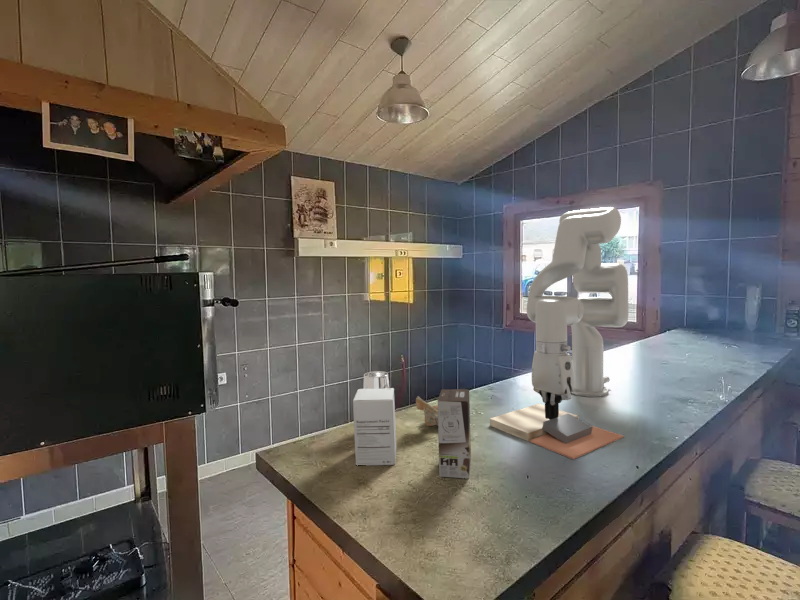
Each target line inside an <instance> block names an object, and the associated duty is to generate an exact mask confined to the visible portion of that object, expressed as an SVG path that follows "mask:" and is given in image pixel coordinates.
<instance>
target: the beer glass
mask: <svg viewBox="0 0 800 600" xmlns="http://www.w3.org/2000/svg"><path fill="white" fill-rule="evenodd" d="M383 388H390V380H389V373H388V372H386V371H383V370H381V371H380V370H373V371H368V372H366V373H364V374H363V389H383Z"/></svg>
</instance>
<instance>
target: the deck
mask: <svg viewBox="0 0 800 600" xmlns="http://www.w3.org/2000/svg"><path fill="white" fill-rule="evenodd" d="M568 413H569V414H571V415H572V416H574V417H576V418H578V419H579V415H578V414H574V413H571V412H568V411H565V410H561V409H559V415H558V417H559V416H562V415H565V414H568ZM548 420H550V419H547V418H545V404H541V403H536V404H533V405H530V406H526V407H524V408H523V407H522V408H519V409H516V410H513V411H509V412H506V413H503V414H500V415H497V416H494V417H490V418H489V426H490V427H493V428H495V429H497V430H500V431H502V432H504V433H507V434H509V435H512V436H514V437H517V438H519V439H522V440H524V441H526V442H530V440H531V439H534V438H537V437H540V436H542V435H545V434H548V432H546V431H544V430H543V429H542V427H543V422H545V421H548Z"/></svg>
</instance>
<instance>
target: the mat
mask: <svg viewBox="0 0 800 600" xmlns="http://www.w3.org/2000/svg"><path fill="white" fill-rule="evenodd" d="M592 426H593V428H592V432H591V434H589V435H587V436H584V437H582V438H579V439H577V440H574V441H572V442H569V443H567V444H566V443H564V442H562V441H561V440H559V439H557V438H556V437H554V436H553V435H551V434H549V433H548V434H545V435H542V436H540V437H537V438H534V439H531V440H530V441H529V443H531V444H534V445H536V446H539V447H541V448H544V449H546V450H549V451H552V452H554V453H556V454H559V455H562V456H564V457H567V458H569V459H571V460H576V459H577V458H579V457H582V456H584V455H587V454H589V453H592V452H594V451H596V450H598V449H601V448H603V447H605V446H608V445H610V444H612V443H614V442H616V441H619V440H621V439H623V438H625V436H624V435H622V434H620V433H616V432H613V431H610V430H606V429H604V428H600V427H597V426H594V425H592Z"/></svg>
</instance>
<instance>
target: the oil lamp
mask: <svg viewBox="0 0 800 600" xmlns="http://www.w3.org/2000/svg"><path fill="white" fill-rule="evenodd" d="M415 405H416V408H417V410H419V411H420V410H421V411H423V415H424V422H425V425H426V427H432V426H437V427H438V404H437V405H432V404H431V405H430V404H429V403H428V402H426V401H425V400H424V399H422V398H421V397H420V396H417V397H416V398H415Z"/></svg>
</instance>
